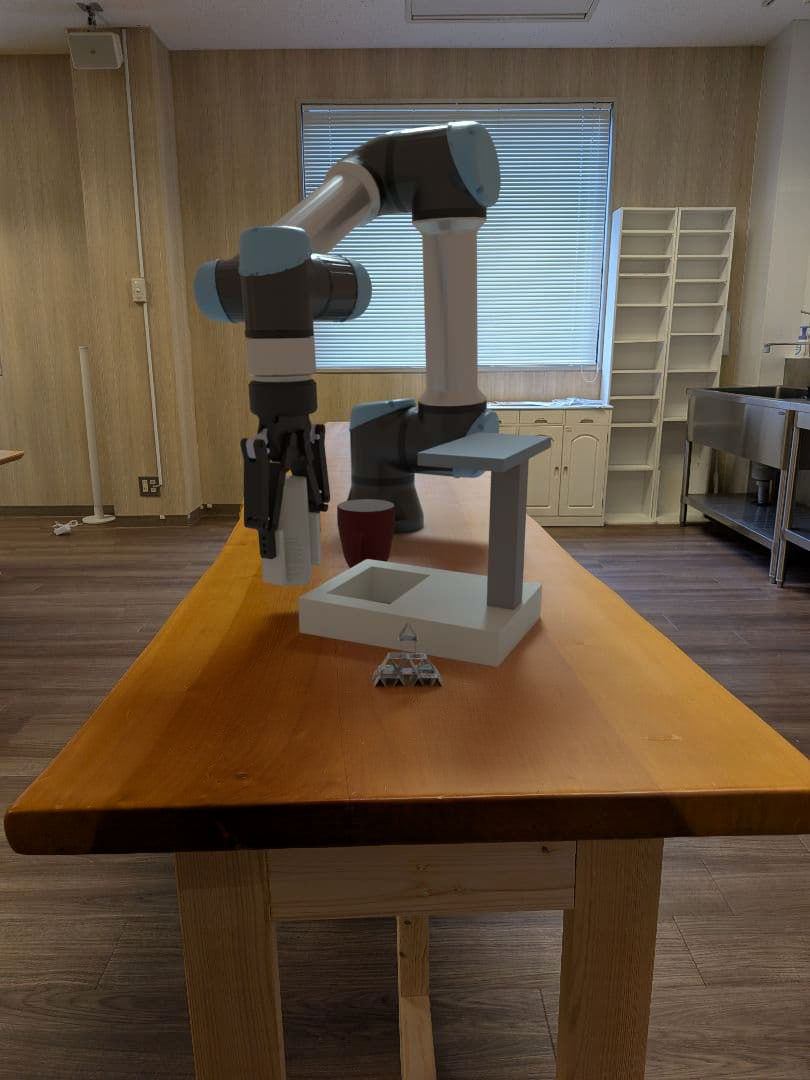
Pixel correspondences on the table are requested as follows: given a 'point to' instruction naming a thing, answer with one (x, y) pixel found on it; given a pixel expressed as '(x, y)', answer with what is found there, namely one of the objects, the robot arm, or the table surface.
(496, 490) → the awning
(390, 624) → the socket block
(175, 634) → the table surface
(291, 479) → the skincare box
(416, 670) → the house of cards
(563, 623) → the table surface
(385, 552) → the mug
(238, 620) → the table surface
